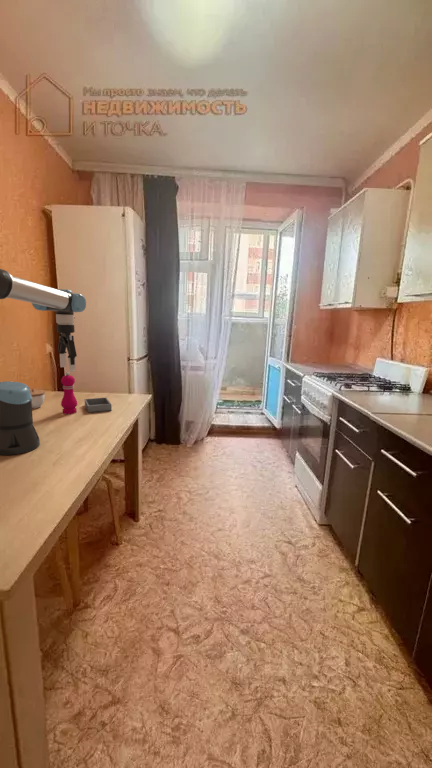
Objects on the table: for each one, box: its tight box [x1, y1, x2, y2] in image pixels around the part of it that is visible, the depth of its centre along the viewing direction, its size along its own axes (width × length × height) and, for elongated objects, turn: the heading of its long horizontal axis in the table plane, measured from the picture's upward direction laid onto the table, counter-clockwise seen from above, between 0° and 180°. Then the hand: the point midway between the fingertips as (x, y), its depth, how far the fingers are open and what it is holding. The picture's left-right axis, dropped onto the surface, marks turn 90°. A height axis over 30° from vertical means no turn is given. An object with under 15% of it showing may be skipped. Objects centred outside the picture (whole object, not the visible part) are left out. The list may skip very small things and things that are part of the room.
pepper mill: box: [60, 371, 78, 415], centre depth 165 cm, size 7×7×20 cm
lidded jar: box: [30, 388, 46, 410], centre depth 173 cm, size 11×11×9 cm
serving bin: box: [84, 397, 113, 414], centre depth 176 cm, size 14×11×4 cm
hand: (67, 369), depth 163 cm, fingers open, 13 cm apart
